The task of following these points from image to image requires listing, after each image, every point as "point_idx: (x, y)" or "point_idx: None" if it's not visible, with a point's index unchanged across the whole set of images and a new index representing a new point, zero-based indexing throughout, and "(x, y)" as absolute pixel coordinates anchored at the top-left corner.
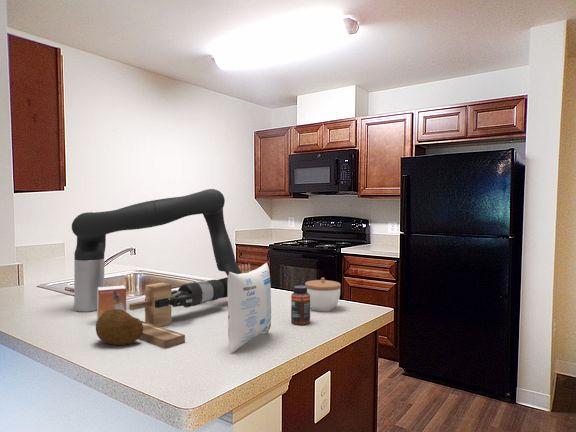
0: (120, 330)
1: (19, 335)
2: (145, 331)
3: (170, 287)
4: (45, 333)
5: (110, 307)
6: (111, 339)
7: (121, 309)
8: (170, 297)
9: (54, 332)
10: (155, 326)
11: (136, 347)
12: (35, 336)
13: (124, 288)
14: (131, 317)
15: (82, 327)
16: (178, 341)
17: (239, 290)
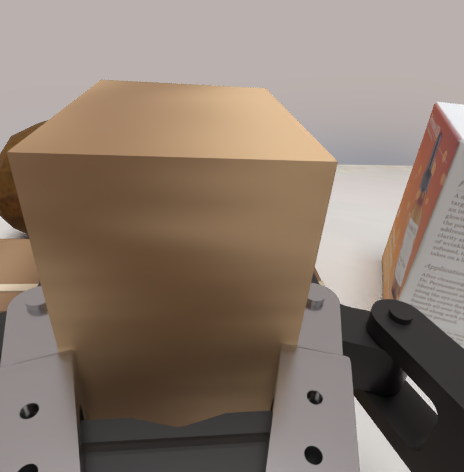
0: None
1: (369, 167)
2: (29, 249)
3: (32, 202)
4: (357, 185)
5: (404, 217)
6: None
7: (403, 261)
8: (37, 321)
9: (355, 193)
10: None
11: (3, 233)
12: (341, 174)
13: (459, 136)
14: (19, 132)
15: (374, 231)
16: None
17: None
